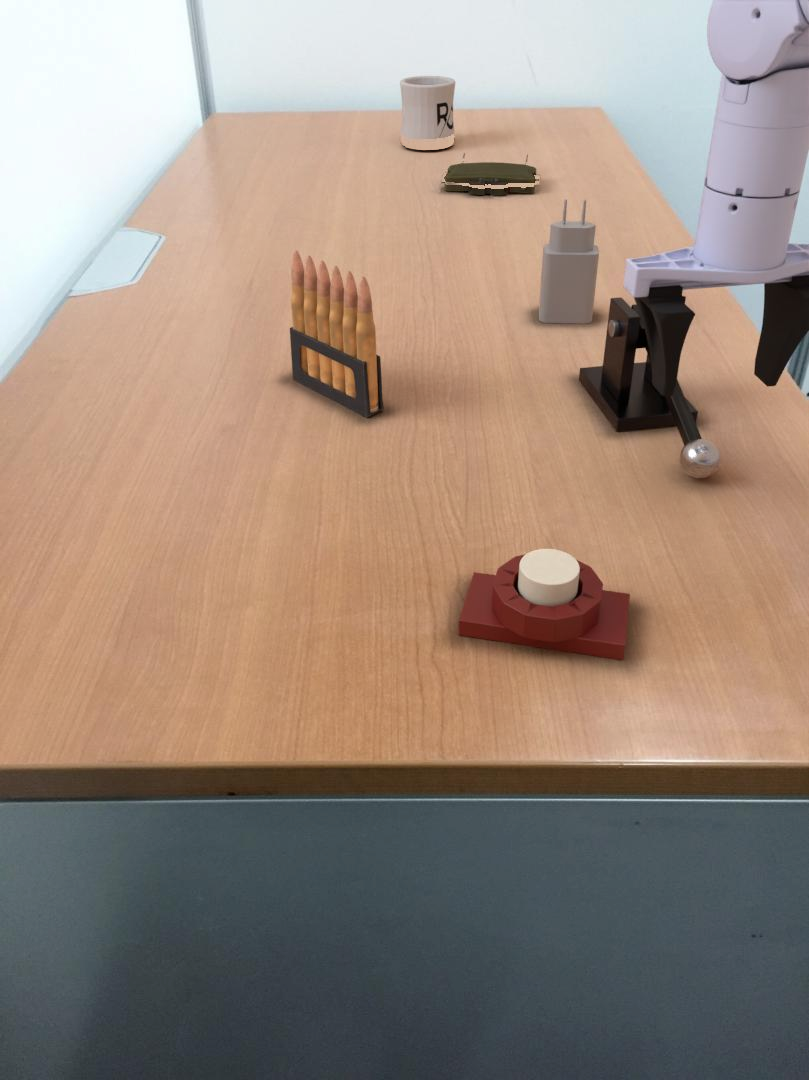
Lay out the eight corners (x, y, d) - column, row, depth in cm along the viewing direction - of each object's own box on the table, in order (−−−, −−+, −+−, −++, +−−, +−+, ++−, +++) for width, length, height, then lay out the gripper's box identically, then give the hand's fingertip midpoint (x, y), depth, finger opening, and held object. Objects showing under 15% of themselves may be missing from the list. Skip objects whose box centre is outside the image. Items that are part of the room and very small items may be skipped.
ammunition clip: (384, 411, 83) (380, 276, 76) (368, 418, 82) (362, 282, 75) (308, 372, 89) (297, 245, 82) (292, 378, 88) (280, 250, 81)
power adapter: (592, 323, 98) (605, 204, 91) (539, 322, 98) (547, 204, 91) (590, 312, 100) (602, 195, 93) (538, 311, 101) (546, 194, 94)
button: (580, 575, 59) (582, 552, 58) (574, 611, 57) (576, 588, 56) (522, 567, 60) (524, 544, 59) (513, 602, 57) (515, 579, 56)
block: (628, 600, 61) (634, 563, 60) (622, 668, 56) (628, 630, 55) (475, 579, 63) (476, 542, 62) (455, 643, 58) (456, 605, 57)
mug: (437, 155, 154) (438, 87, 148) (389, 148, 158) (388, 82, 152) (473, 139, 163) (475, 74, 157) (427, 133, 166) (427, 70, 161)
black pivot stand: (696, 424, 80) (714, 325, 75) (616, 432, 79) (629, 332, 74) (651, 373, 88) (665, 280, 83) (578, 379, 87) (587, 286, 82)
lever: (718, 484, 73) (731, 460, 71) (681, 488, 73) (693, 464, 70) (652, 325, 82) (662, 299, 79) (619, 328, 82) (628, 301, 79)
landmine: (438, 175, 135) (450, 149, 147) (438, 194, 136) (450, 167, 148) (539, 178, 133) (543, 151, 145) (538, 197, 134) (542, 169, 146)
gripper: (826, 162, 63) (782, 352, 71) (617, 176, 62) (596, 369, 69) (887, 192, 58) (832, 394, 66) (659, 207, 56) (631, 414, 64)
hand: (714, 384), depth 67 cm, fingers open, 7 cm apart
